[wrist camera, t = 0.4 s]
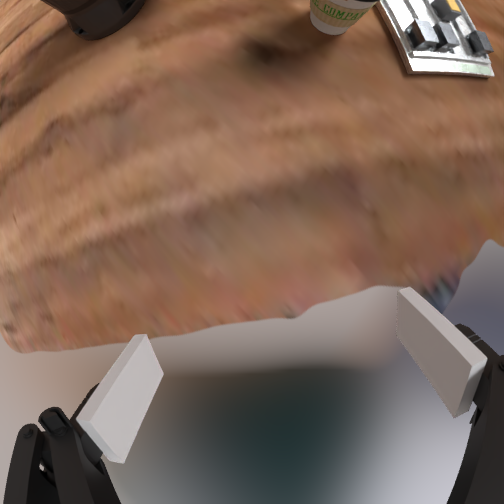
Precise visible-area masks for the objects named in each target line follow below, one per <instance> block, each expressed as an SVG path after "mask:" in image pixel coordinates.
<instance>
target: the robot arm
mask: <svg viewBox="0 0 504 504" xmlns="http://www.w3.org/2000/svg"><path fill="white" fill-rule="evenodd" d="M41 1H43V2H45V3H46V4H48V5H50V6H51V7H53V8H54V9H56V10H58V11H59V12H61V13H62V14H64V16H65V18H66V20H67V22H68V24H69V26H70V28H71V30H72V31H73V32H74V33H75V34H76V35H78V36H79V37H81V38H83V39H86V40H95V39H100V38H103V37H105V36H108V35H110V34H112V33H114V32H115V31H117V30H119V29H120V28H122V27H123V26H124V25H125V24H127V23H128V22H129V21H130V20H131V19H132V18H133V17H134V16H135V15H136V14H137V13H138V11H139V10H140V9H141V7H142V6H143V4H144V2H145V0H41ZM397 295H398V296H397V330H396V331H397V332H396V336H397V337H398V338H399V340H400V341H401V342H402V344H403V345H404V347H405V348H406V349H407V351H408V352H409V353H410V355H411V356H412V358H413V359H414V360H415V362H416V363H417V365H418V366H419V367H420V368H421V370H422V372H423V373H424V375H425V376H426V377H427V379H428V380H429V382H430V383H431V385H432V386H433V388H434V389H435V390H436V392H437V393H438V395H439V396H440V398H441V399H442V401H443V403H444V404H445V405H446V407H447V409H448V410H449V412H450V413H451V415H452V416H453V418H456V417H458V416H460V415H461V414H463V413H465V412H467V411H469V408H470V406H471V404H472V401H474V403H475V404H476V405H477V407H476V410H475V412H474V415H473V416H472V418H471V421H470V424H471V423H472V427H471V431H470V436H469V439H468V443H467V447H466V450H465V454H464V457H463V461H462V464H461V467H460V470H459V473H458V476H457V479H456V481H455V484H454V487H453V489H452V492H451V494H450V497H449V499H448V501H447V504H504V355H501V356H499V355H498V354H497V353H496V352H495V351H494V350H493V349H492V348H490V346H488V345H487V344H486V343H485V342H484V341H483V340H481V338H480V337H479V336H478V335H476V334H475V333H474V332H473V331H472V330H471V329H470V328H469V327H466V326H464V325H462V324H458V325H455V326H454V325H453V324H452V323H451V322H450V321H448V320H447V319H446V318H445V317H444V316H443V315H442V314H441V313H440V312H438V311H437V310H436V309H435V308H434V307H433V306H432V305H431V304H429V303H428V302H427V301H426V300H425V299H424V298H423V297H421V296H420V295H419V294H418V293H417V292H416V291H414V290H413V289H412V288H411V287H408V288H404V289H400V290H398V291H397ZM163 374H164V373H163V371H162V369H161V367H160V365H159V362H158V360H157V358H156V356H155V353H154V351H153V349H152V346H151V344H150V342H149V339H148V337H147V334H140V335H134V337H133V338H132V339H131V341H130V342H129V343H128V345H127V346H126V347H125V349H124V350H123V352H122V353H121V354H120V356H119V357H118V359H117V360H116V361H115V363H114V364H113V366H112V367H111V368H110V370H109V371H108V373H107V374H106V376H105V377H104V378H103V380H102V381H101V382H100V383H98V384H97V385H95V386H94V387H93V388H92V389H91V390H90V391H89V393H88V394H87V396H86V398H84V400H83V401H82V403H81V404H80V405H79V407H78V408H77V410H76V411H75V413H74V414H73V416H72V417H71V419H70V420H69V419H68V418H67V417H66V415H65V414H64V412H63V411H62V410H61V409H60V408H59V407H51V408H48V409H46V410H45V411H44V412H42V413H41V415H40V416H39V420H38V422H39V423H40V424H41V426H42V427H43V428H44V429H45V431H43V432H41V431H40V429H39V428H38V427H37V425H35V424H27V425H25V426H23V427H22V428H21V429H20V431H19V433H18V436H17V439H16V443H15V446H14V450H13V454H12V458H11V463H10V468H9V472H8V477H7V483H6V488H5V495H4V502H3V504H121V502H120V500H119V498H118V496H117V493H116V491H115V489H114V487H113V484H112V482H111V479H110V477H109V475H108V472H107V469H106V467H105V464H104V462H103V461H102V459H101V458H100V457H101V456H102V454H104V455H105V456H106V457H107V458H108V459H109V460H110V461H114V462H119V463H124V462H125V460H126V457H127V455H128V453H129V450H130V448H131V445H132V443H133V441H134V439H135V437H136V434H137V432H138V430H139V427H140V425H141V423H142V421H143V418H144V416H145V414H146V412H147V409H148V407H149V405H150V403H151V401H152V398H153V396H154V394H155V392H156V390H157V387H158V385H159V383H160V381H161V379H162V377H163ZM40 464H41V465H42V466H44V470H43V471H42V470H41V469H40V467H39V465H40Z"/></svg>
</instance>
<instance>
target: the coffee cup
mask: <svg viewBox="0 0 504 504" xmlns="http://www.w3.org/2000/svg"><path fill="white" fill-rule="evenodd" d="M377 1H380V0H310V8H311V12H310V19H311V22H312V24H313V25H314V26H315V27H316V28H317V29H318V30H320V31H321V32H323V33H326V34H330V35H339V34H342V33H344V32H345V31H346V30H347V29H348V28H349V27H350V26H352V25H354V24H355V23H356V22H357V21H358V20H359V19H360V18H361V17H362V16H363V15H364V14H365V13H366V12H367V11H368V10H369V9H371V8H372V7H373V6H374V5H375V4H376V2H377Z"/></svg>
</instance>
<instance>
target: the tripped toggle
mask: <svg viewBox="0 0 504 504" xmlns="http://www.w3.org/2000/svg"><path fill="white" fill-rule="evenodd" d="M431 3H432V5H433V6H434V8H435V10H436V12H437V13H438V15H439V17H440V19H441V20H446V21H451V22H452V21H453V20H455V19H456V18H457V17H459V16H460V15H462V12H461V11H460V9H459V7H458V5H457V4H456V2H455V0H434V1H433V2H431Z"/></svg>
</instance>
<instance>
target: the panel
mask: <svg viewBox="0 0 504 504" xmlns="http://www.w3.org/2000/svg"><path fill="white" fill-rule="evenodd" d="M433 1H434V0H380V1H377V2H376V4H375V5H376V7H377V8H378V10H379V12H380V14H381V16H382V18H383V20H384V22H385V23H386V25H387V27H388V29H389V32H390V34H391V36H392V38H393V40H394V42H395V44H396V47H397V49H398V51H399V53H400V56H401V58H402V61H403V63H404V65H405V68H406V71H407V73H408V74H447V75H464V76H475V77H484V78H490V77H493V76H494V73H493V71H492V68H491V65H490V64H491V61H490V60H489V56H488V54H489V53H491V52H494V51H493V49H492V46H491V44H490V42H489V40H488V38H487V36H486V34H485V33H484V32H481V31H477V30H476V28H475V26H474V24H473V23H472V21H471V19H470V17H469V15H468V13H467V12H466V10H465V8H464V6H463V5H462V3H461V1H460V0H455V2H456V4H457V5H458V7H459V9H460V11H461V12H462V15H460V16H459V17H457V18H456V19H455V20H453V21H452V22H451V21H446V20H441V19H440V17H439V15H438V13H437V12H436V10H435V8H434V6H433V5H432V3H431V2H433Z"/></svg>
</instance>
